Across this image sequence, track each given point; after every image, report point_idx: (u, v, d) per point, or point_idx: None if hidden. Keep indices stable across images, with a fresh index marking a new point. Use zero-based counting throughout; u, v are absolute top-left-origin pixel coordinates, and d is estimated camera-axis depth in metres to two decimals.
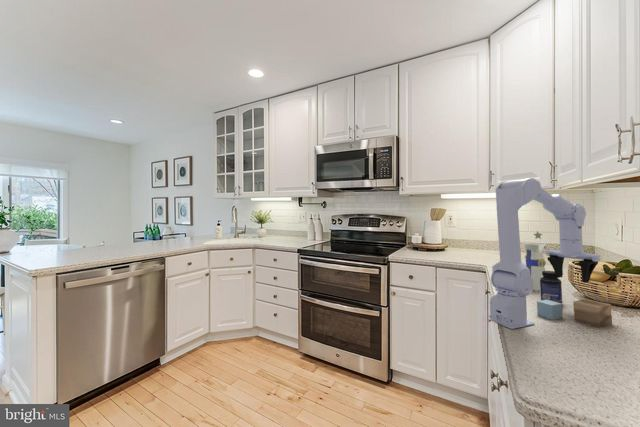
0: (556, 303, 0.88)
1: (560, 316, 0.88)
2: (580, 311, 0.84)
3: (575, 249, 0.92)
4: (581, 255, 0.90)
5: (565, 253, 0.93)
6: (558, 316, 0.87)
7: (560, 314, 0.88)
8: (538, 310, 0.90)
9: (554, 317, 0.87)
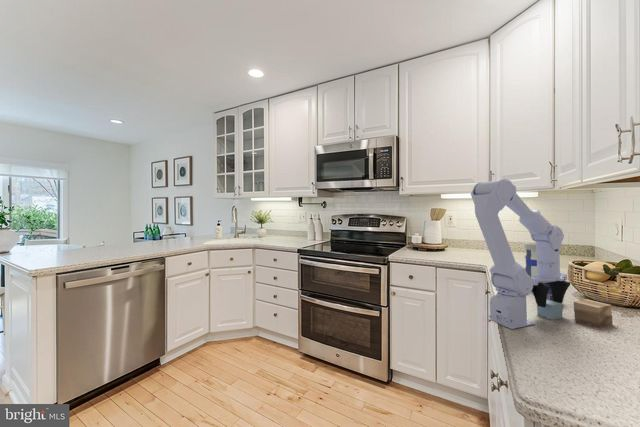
0: (556, 303, 0.88)
1: (560, 316, 0.88)
2: (580, 311, 0.84)
3: (537, 271, 0.90)
4: None
5: None
6: (558, 316, 0.87)
7: (560, 314, 0.88)
8: (538, 310, 0.90)
9: (554, 317, 0.87)
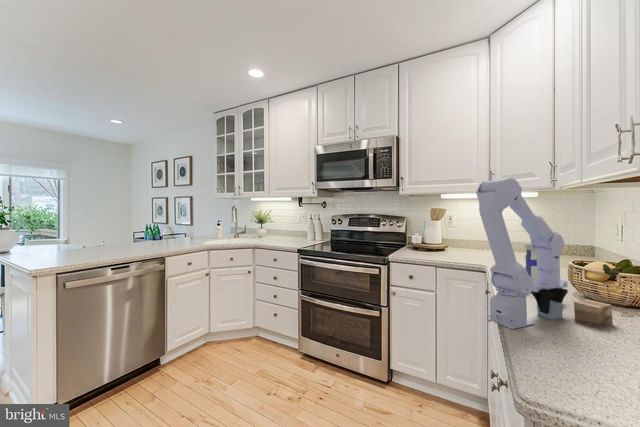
0: (556, 303, 0.88)
1: (560, 316, 0.88)
2: (581, 311, 0.84)
3: (537, 278, 0.90)
4: None
5: None
6: (558, 316, 0.87)
7: (560, 314, 0.88)
8: (538, 310, 0.90)
9: (554, 317, 0.87)
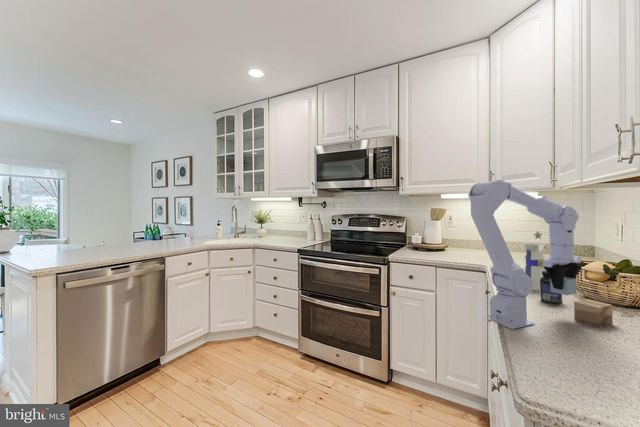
0: (570, 278, 0.86)
1: (574, 291, 0.86)
2: (581, 311, 0.84)
3: (551, 253, 0.88)
4: None
5: None
6: (572, 291, 0.85)
7: (574, 289, 0.86)
8: (551, 286, 0.88)
9: (568, 292, 0.85)
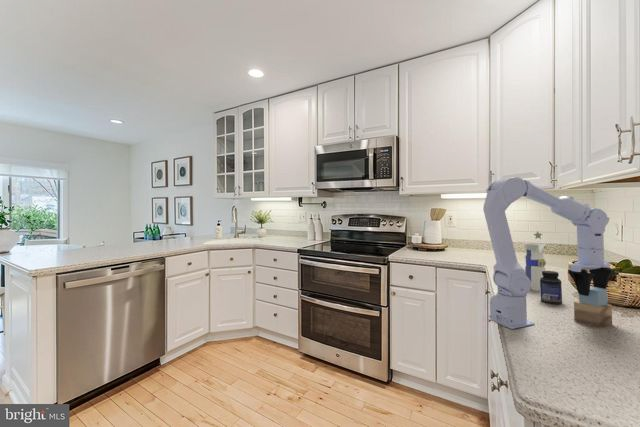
0: (601, 289, 0.82)
1: (605, 303, 0.82)
2: (581, 311, 0.84)
3: (578, 258, 0.85)
4: (574, 264, 0.84)
5: None
6: (603, 303, 0.81)
7: (605, 301, 0.82)
8: (580, 297, 0.84)
9: (599, 304, 0.81)
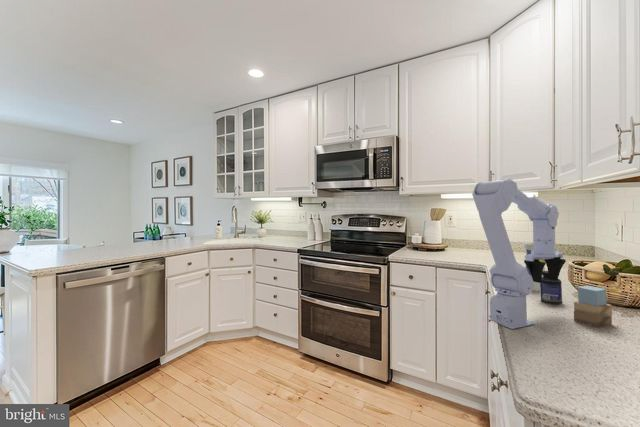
0: (600, 289, 0.82)
1: (604, 302, 0.82)
2: (581, 311, 0.84)
3: (534, 249, 0.94)
4: None
5: None
6: (602, 302, 0.82)
7: (604, 300, 0.82)
8: (579, 297, 0.85)
9: (598, 303, 0.81)
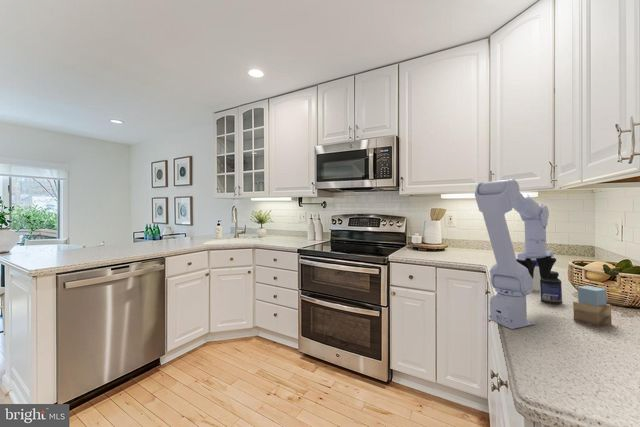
0: (600, 289, 0.82)
1: (604, 302, 0.82)
2: (580, 311, 0.84)
3: (525, 248, 0.96)
4: None
5: None
6: (602, 302, 0.82)
7: (604, 300, 0.82)
8: (579, 297, 0.85)
9: (598, 303, 0.81)
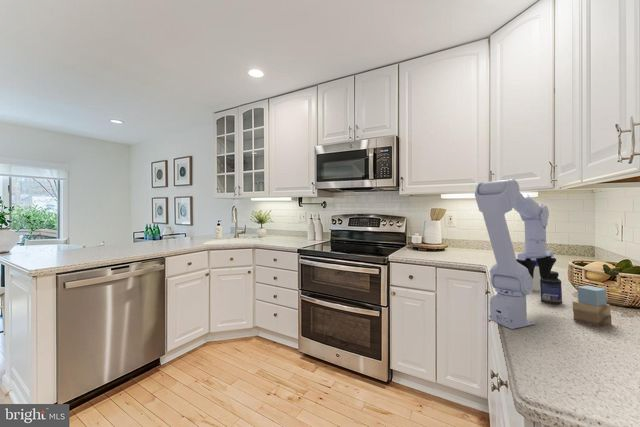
0: (600, 289, 0.82)
1: (604, 302, 0.82)
2: (579, 311, 0.84)
3: (525, 248, 0.96)
4: None
5: None
6: (602, 302, 0.82)
7: (604, 300, 0.82)
8: (579, 296, 0.85)
9: (598, 303, 0.81)
